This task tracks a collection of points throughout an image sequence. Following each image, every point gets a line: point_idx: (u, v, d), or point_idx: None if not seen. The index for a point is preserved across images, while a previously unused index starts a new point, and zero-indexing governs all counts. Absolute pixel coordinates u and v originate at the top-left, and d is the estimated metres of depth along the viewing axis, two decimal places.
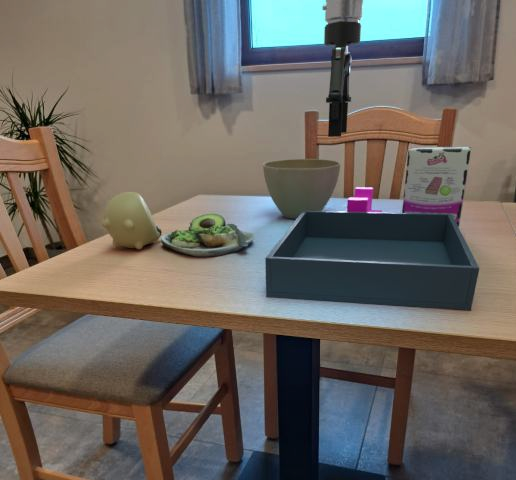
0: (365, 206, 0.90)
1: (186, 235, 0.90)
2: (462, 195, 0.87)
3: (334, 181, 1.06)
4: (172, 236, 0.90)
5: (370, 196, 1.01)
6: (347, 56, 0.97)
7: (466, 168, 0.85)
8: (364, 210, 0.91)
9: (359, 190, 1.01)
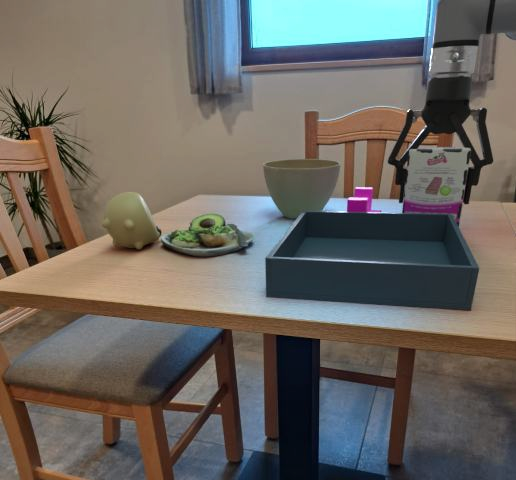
0: (365, 206, 0.90)
1: (186, 235, 0.90)
2: (462, 195, 0.87)
3: (334, 181, 1.06)
4: (172, 236, 0.90)
5: (370, 196, 1.01)
6: None
7: (466, 168, 0.85)
8: (364, 210, 0.91)
9: (359, 190, 1.02)
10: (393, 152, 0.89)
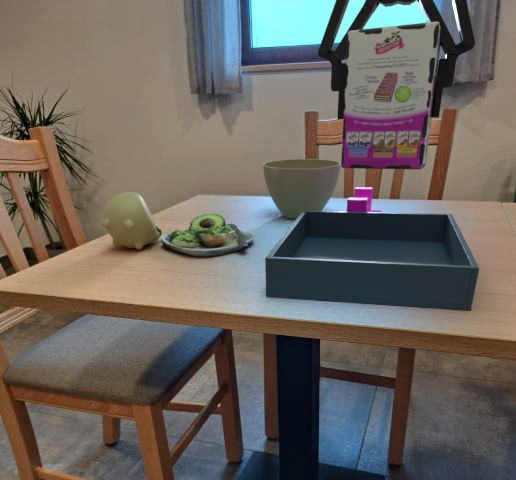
0: (365, 206, 0.90)
1: (186, 235, 0.90)
2: (428, 100, 0.57)
3: (334, 181, 1.06)
4: (172, 236, 0.90)
5: (369, 196, 1.01)
6: None
7: (433, 55, 0.55)
8: (364, 210, 0.91)
9: (359, 190, 1.02)
10: (325, 37, 0.59)
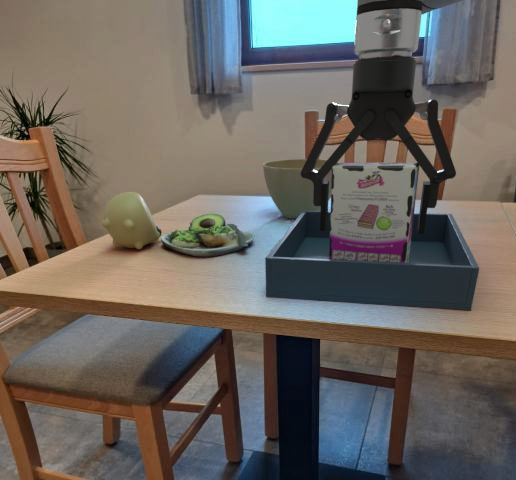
0: None
1: (186, 235, 0.90)
2: (407, 230, 0.62)
3: None
4: (172, 236, 0.90)
5: None
6: None
7: (411, 193, 0.60)
8: None
9: None
10: (308, 161, 0.63)
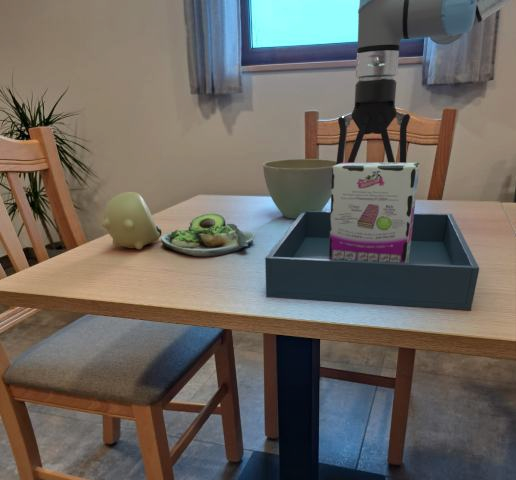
0: None
1: (186, 235, 0.90)
2: (407, 230, 0.62)
3: None
4: (172, 236, 0.90)
5: None
6: None
7: (411, 193, 0.60)
8: None
9: None
10: (338, 158, 0.93)
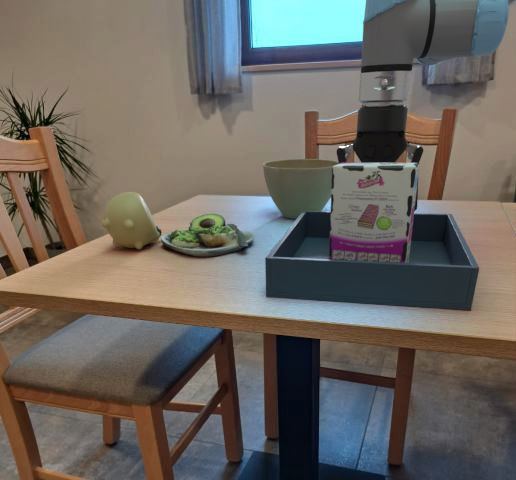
0: None
1: (186, 235, 0.90)
2: (407, 230, 0.62)
3: None
4: (172, 236, 0.90)
5: None
6: None
7: (411, 193, 0.60)
8: None
9: None
10: None
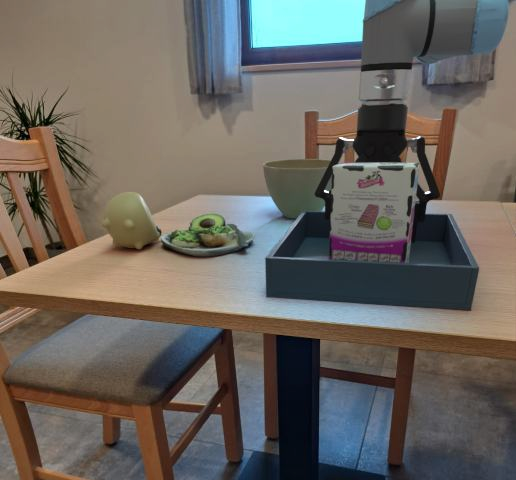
0: None
1: (186, 235, 0.90)
2: (407, 230, 0.62)
3: None
4: (172, 236, 0.90)
5: None
6: None
7: (411, 193, 0.60)
8: None
9: None
10: (321, 184, 0.78)
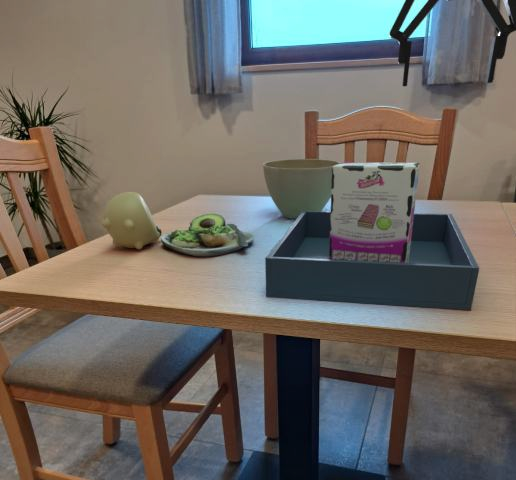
0: None
1: (186, 235, 0.90)
2: (407, 230, 0.62)
3: None
4: (172, 236, 0.90)
5: None
6: None
7: (411, 193, 0.60)
8: None
9: None
10: (397, 21, 0.76)
